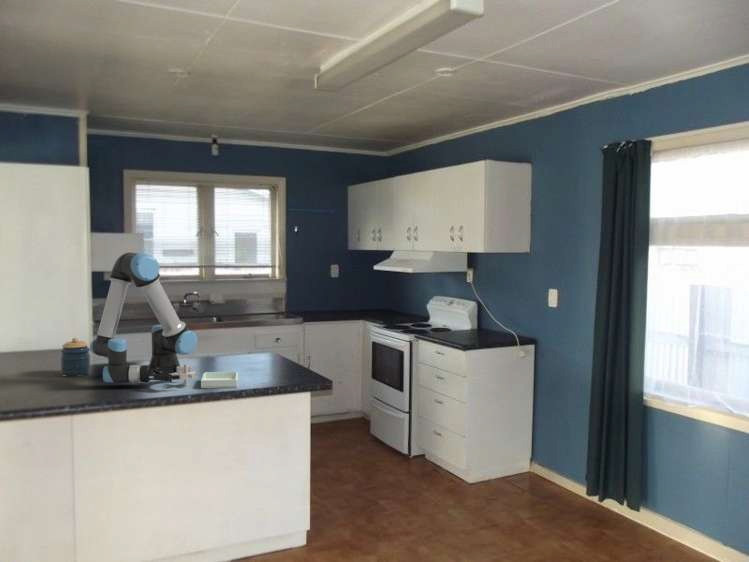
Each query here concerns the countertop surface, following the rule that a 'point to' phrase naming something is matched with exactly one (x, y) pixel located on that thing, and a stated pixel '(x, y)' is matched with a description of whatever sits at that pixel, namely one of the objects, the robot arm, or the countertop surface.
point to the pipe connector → (190, 374)
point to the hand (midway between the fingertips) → (189, 373)
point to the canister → (75, 358)
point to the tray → (219, 380)
